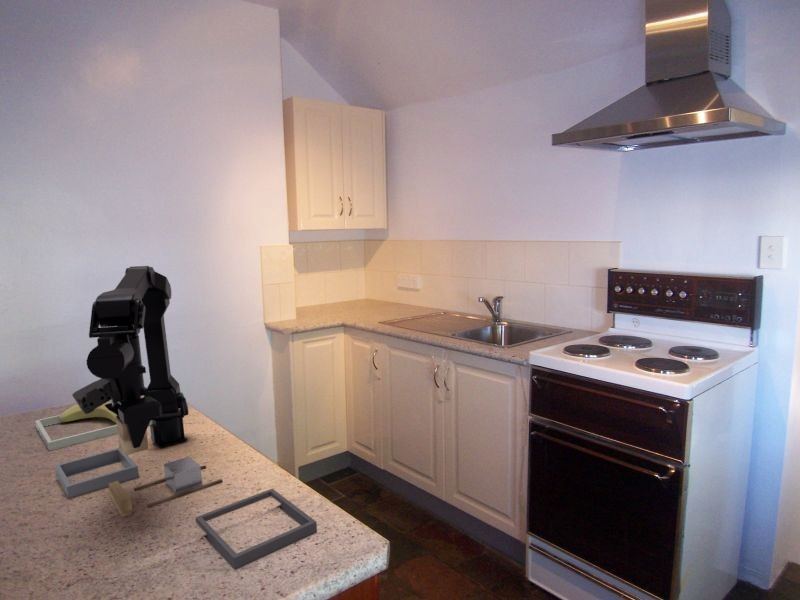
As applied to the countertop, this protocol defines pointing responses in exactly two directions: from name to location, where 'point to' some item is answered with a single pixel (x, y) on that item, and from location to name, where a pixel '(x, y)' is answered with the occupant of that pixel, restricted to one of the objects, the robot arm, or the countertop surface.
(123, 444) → the block
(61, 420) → the banana
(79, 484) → the tray
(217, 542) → the dark grey square frame
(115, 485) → the track
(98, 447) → the countertop surface
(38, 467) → the countertop surface
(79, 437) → the fruit rim
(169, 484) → the grey small block
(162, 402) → the robot arm
